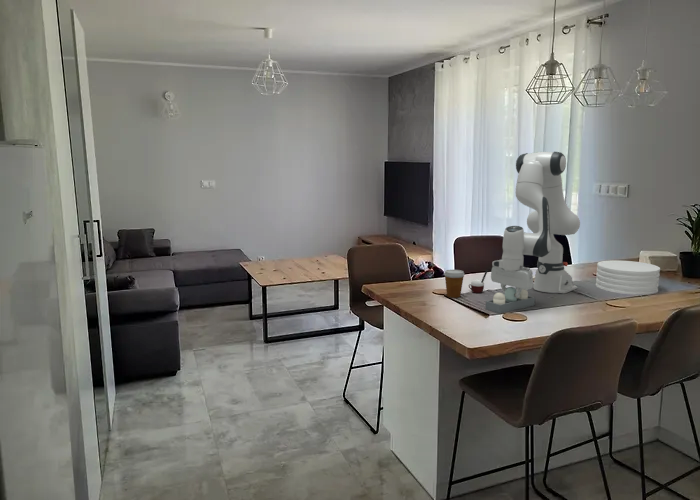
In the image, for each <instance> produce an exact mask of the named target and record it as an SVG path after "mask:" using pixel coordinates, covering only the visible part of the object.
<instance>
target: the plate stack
mask: <svg viewBox="0 0 700 500" xmlns="http://www.w3.org/2000/svg"><path fill="white" fill-rule="evenodd" d="M596 266H597V267H596V278H595V281H596V282H595V286H596V288H598V289H600V290H602V291H607V292H611V293H616V294H622V295H623V294H624V295H634V296H637V295H641V296H642V295H644V294H647V295H653V294H657V293H658V292H659V284H660V283H659V281H660V272H661V267H659V266H658V265H655V264H651V263H648V262H647V263H646V262H642V261H641V262H640V261H631V260H620V259H619V260H615V259H614V260H612V259H611V260H603V261H599V262H597V265H596Z"/></svg>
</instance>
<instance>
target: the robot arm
mask: <svg viewBox="0 0 700 500" xmlns="http://www.w3.org/2000/svg"><path fill="white" fill-rule="evenodd" d="M566 166H567V159H566V156H565V154H564V153H563V152H560V151H539V152H538V151H537V152H532V153H531V152H530V153H528V152H526V153H522V154H519V156H518V157H517V159H516V161H515V169H516V172H517V173H518V176H517V180H516V185H515V197H516V199H517V201H518V202H519V203H520V204H522V205H524V206H526V207H528V208H530V209H533V211H531V212H530V213H529V214H528V216H527V218H526V225H527V227H528V229H529V230H530V231H531V232H525V231H524V228H523V227H522V226H520V225H509V226H507V227H506V228H505V229H504V232H503V237H502V256H501V258H500V259H499V260H498V259H497V260H494V261H492V263H491V264H492V267H491V273H490V280H491V281H492V282H493V283H498V284H500V288H501V289H502V293H503V294H504V295H505V290H506V289H507V286H508V287H514V288H515V289H516V290H517V292H516V293H514V297H516V298H519V297H520V293H521V291H522V289H525V290H527V291H528V290H532V289H533V290H535V291H538V292H543V293H549V294H551V293H553V294H558V293H559V294H567V293H569V292H572V291H574V290H577V289H578V286H577V285H575V284H573V277H572V275H571V274H569V272H568V271H566V269H565V267H568V264H569V263H568V262H567V261H563V256H564V255H563V254H564V247H563V245H562V244H561V243H560V242H559V241H558V240H557V239H556V237H555V235H558V236H560V235H561V236H567V235H568V236H570V235H575V234H576V233H577V232H578V231H579V229H580V226H581V221H580V218H579V216H578V215H577V214H576V213H574V212H573V211H571V208H569V206H568V205H567V203H566V201H565V197H564V189H563V180H562V179H563V178H562V174H563V173H564V172H565V169H566ZM524 255H525V256H533V257H538V260H537V264H536V265H537V266H536V268H537V270H536V271H535V275H534V276H533V274H534V272H533V270H532V269H531V268H530V267H526V266H524V258H525V257H524ZM533 277H534V278H533Z"/></svg>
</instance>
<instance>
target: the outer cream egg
mask: <svg viewBox="0 0 700 500" xmlns="http://www.w3.org/2000/svg"><path fill="white" fill-rule="evenodd" d="M492 298H493V299H492V300H493V303H496V304H499V305H501V304H505V294H503V292H495V293H494V294H493V297H492Z"/></svg>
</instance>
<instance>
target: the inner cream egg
mask: <svg viewBox="0 0 700 500" xmlns="http://www.w3.org/2000/svg"><path fill="white" fill-rule="evenodd" d="M528 296H529V292H528V290H525V289H522V291H521V293H520V297H519V299H522V300H523V299H528Z"/></svg>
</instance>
